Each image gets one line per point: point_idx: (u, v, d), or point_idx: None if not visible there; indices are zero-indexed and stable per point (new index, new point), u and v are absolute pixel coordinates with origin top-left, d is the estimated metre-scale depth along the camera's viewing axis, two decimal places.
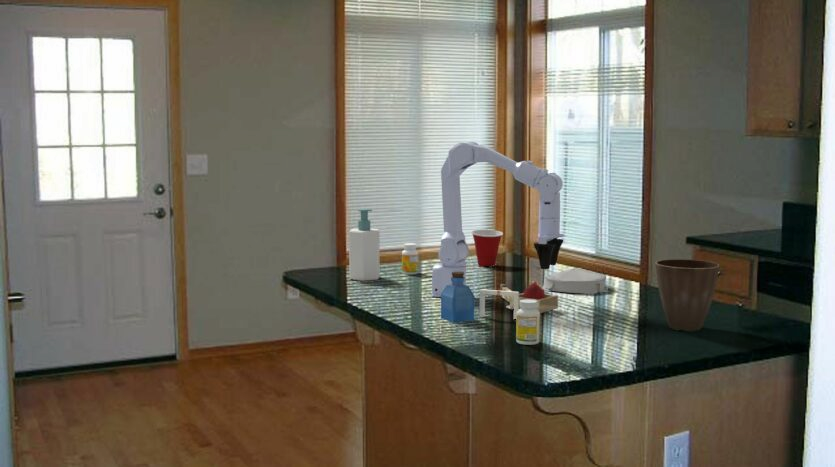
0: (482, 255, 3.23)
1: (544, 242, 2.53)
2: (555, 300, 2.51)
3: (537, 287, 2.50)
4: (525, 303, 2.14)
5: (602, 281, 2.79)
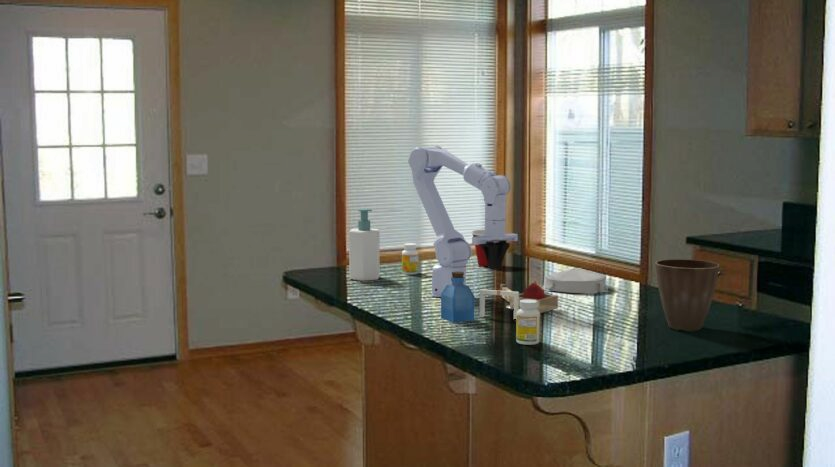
0: (482, 255, 3.23)
1: (475, 243, 2.56)
2: (555, 300, 2.51)
3: (537, 287, 2.50)
4: (525, 303, 2.14)
5: (602, 281, 2.79)
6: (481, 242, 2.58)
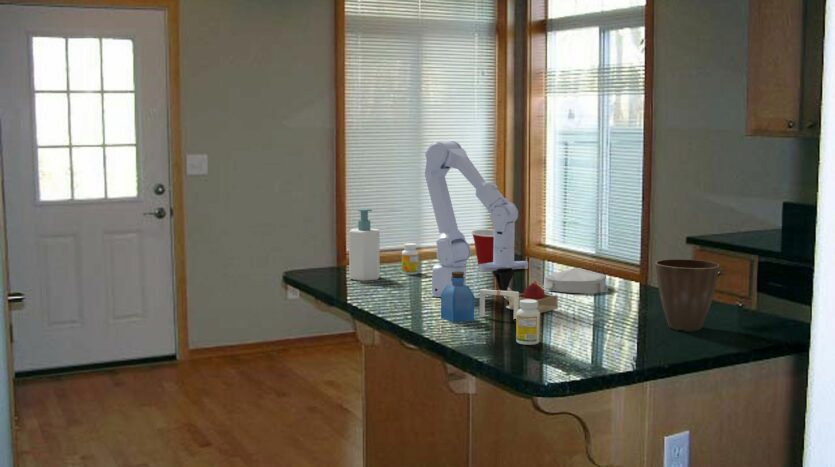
0: (482, 255, 3.23)
1: (481, 270, 2.59)
2: (555, 300, 2.50)
3: (537, 287, 2.50)
4: (525, 303, 2.14)
5: (602, 281, 2.79)
6: (488, 269, 2.60)
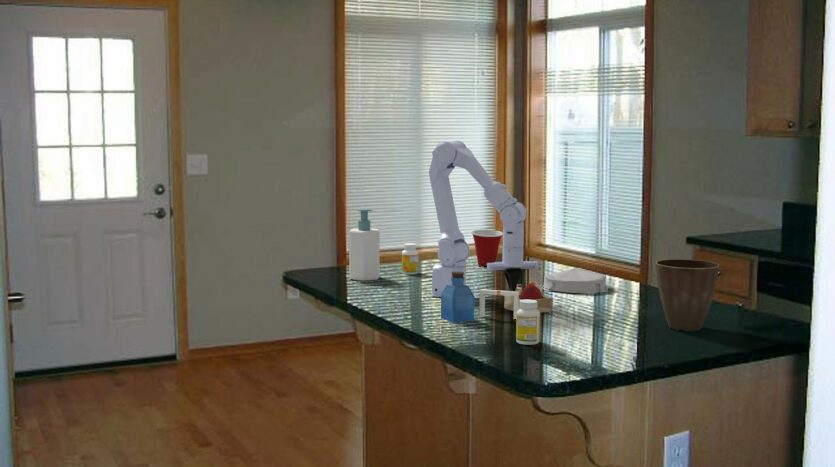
0: (482, 255, 3.23)
1: (488, 269, 2.61)
2: (549, 302, 2.48)
3: (534, 288, 2.49)
4: (525, 303, 2.14)
5: (602, 281, 2.79)
6: (496, 268, 2.62)
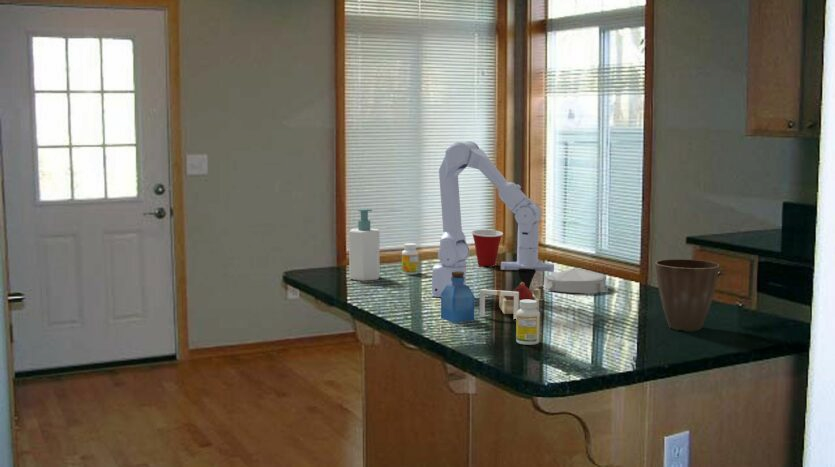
0: (482, 255, 3.23)
1: None
2: None
3: (523, 288, 2.47)
4: (525, 303, 2.14)
5: (602, 281, 2.79)
6: (509, 268, 2.63)
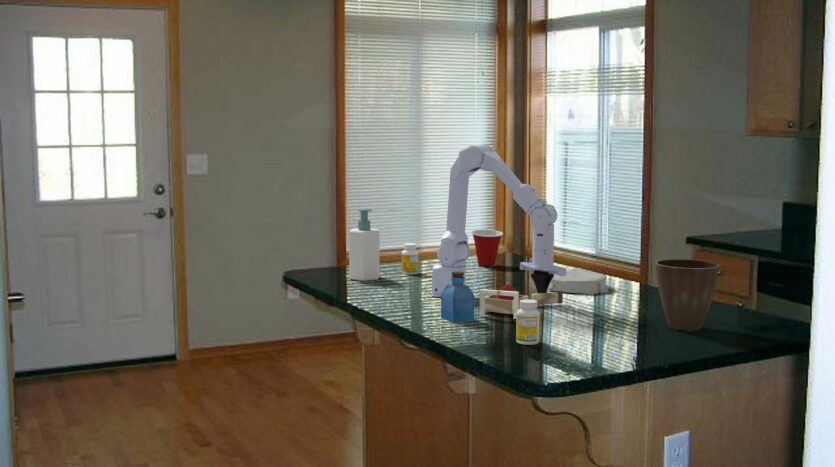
0: (482, 255, 3.23)
1: None
2: (509, 304, 2.45)
3: (508, 288, 2.48)
4: (525, 303, 2.14)
5: (602, 281, 2.79)
6: (527, 268, 2.62)
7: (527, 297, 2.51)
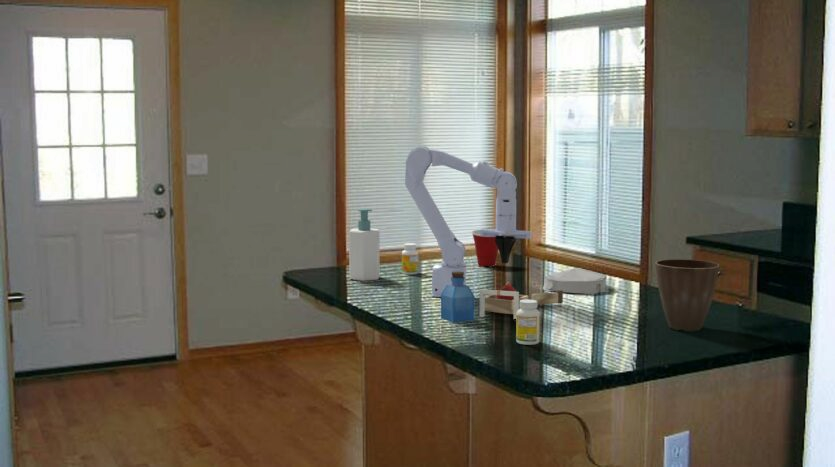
0: (482, 255, 3.23)
1: None
2: (508, 304, 2.45)
3: (508, 288, 2.48)
4: (525, 303, 2.14)
5: (603, 281, 2.79)
6: (488, 235, 2.70)
7: (527, 297, 2.51)
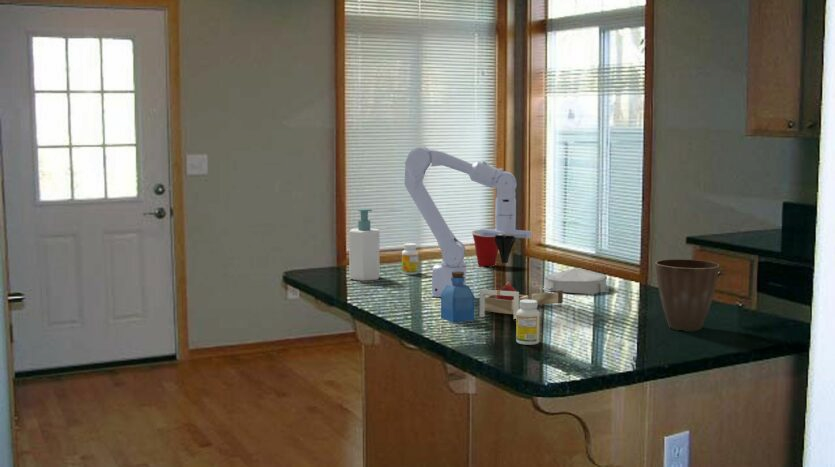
0: (482, 255, 3.23)
1: None
2: (508, 304, 2.45)
3: (508, 288, 2.48)
4: (525, 303, 2.14)
5: (603, 281, 2.79)
6: (488, 234, 2.70)
7: (527, 297, 2.51)
